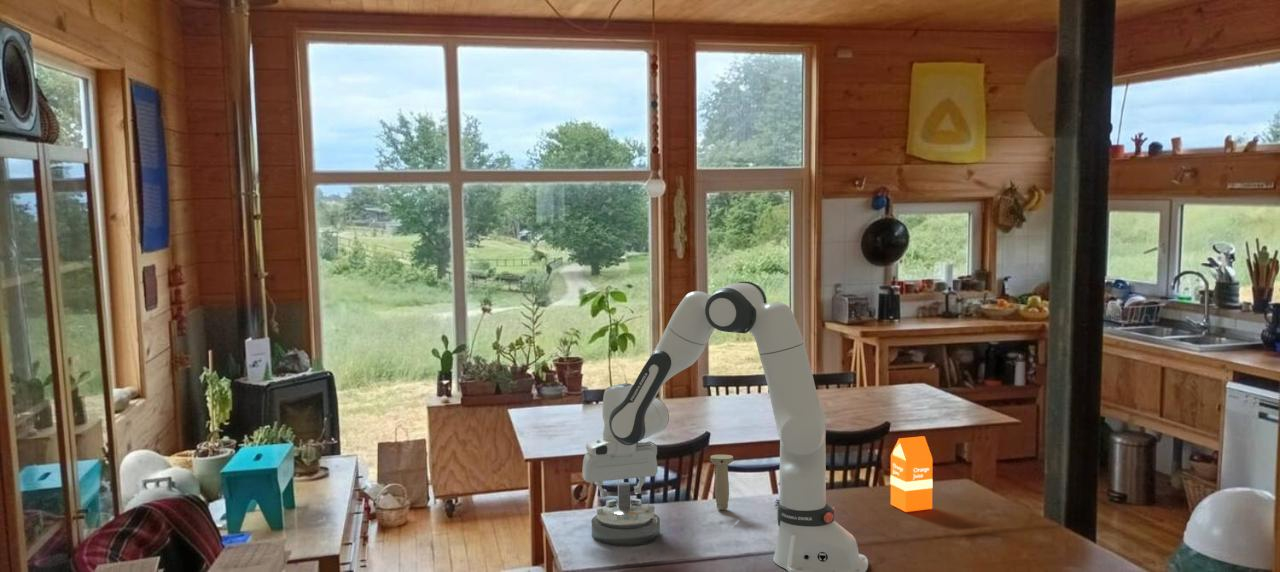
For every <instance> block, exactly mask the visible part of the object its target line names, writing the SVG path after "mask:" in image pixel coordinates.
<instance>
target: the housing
mask: <svg viewBox="0 0 1280 572" xmlns="http://www.w3.org/2000/svg"><path fill="white" fill-rule="evenodd" d="M660 519H661V518H660V517H659V515H658V514H655V513H654V517H653V522H651V523H650V524H648V525H645V526H641V527H636V528H612V527H607V526H604V525H602V524H600V523H599V522H598V521H597V514H596V515H594V516H593V517H592V518H591V537H592V539H593V540H594V541H596V542H598V543H601V544H604V545H607V546H614V547H625V548H627V547H629V548H630V547H639V546H644V545H648V544H649V545H650V544H651V543H653V542H656V541H657V540H658V539H660V537H661V520H660Z"/></svg>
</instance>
